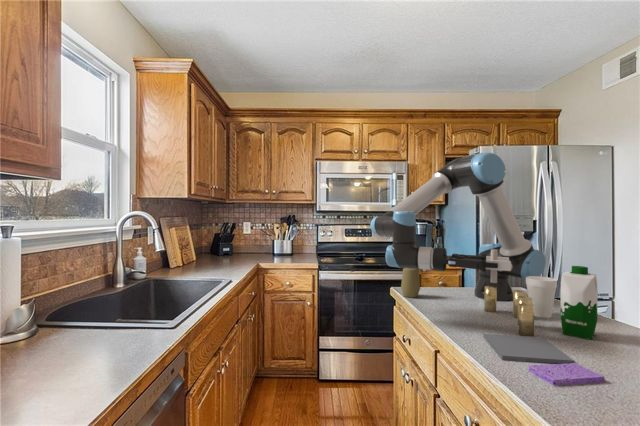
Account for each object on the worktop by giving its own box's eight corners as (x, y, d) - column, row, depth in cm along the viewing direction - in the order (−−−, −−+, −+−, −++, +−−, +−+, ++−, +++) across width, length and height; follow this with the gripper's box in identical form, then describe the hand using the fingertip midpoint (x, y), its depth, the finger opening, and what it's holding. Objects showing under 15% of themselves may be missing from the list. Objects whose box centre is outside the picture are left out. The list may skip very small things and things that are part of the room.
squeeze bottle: (401, 298, 148) (401, 255, 148) (400, 293, 156) (400, 253, 156) (421, 299, 147) (421, 256, 147) (419, 294, 155) (419, 254, 155)
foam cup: (557, 320, 118) (557, 282, 118) (525, 316, 123) (525, 279, 123) (555, 313, 126) (556, 277, 126) (526, 309, 131) (526, 275, 131)
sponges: (528, 373, 80) (528, 364, 80) (576, 369, 82) (576, 361, 82) (552, 388, 73) (552, 379, 73) (605, 384, 75) (605, 375, 75)
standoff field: (516, 311, 129) (516, 286, 129) (556, 339, 100) (556, 308, 100) (483, 309, 131) (483, 285, 131) (512, 336, 102) (512, 305, 102)
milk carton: (598, 334, 105) (598, 267, 105) (595, 342, 98) (595, 271, 98) (563, 327, 111) (563, 264, 111) (558, 334, 104) (558, 267, 104)
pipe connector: (504, 279, 112) (504, 248, 112) (518, 286, 102) (518, 252, 102) (471, 278, 113) (472, 247, 113) (482, 285, 103) (482, 251, 103)
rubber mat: (543, 340, 99) (543, 337, 99) (574, 364, 83) (574, 360, 83) (483, 337, 102) (483, 333, 102) (502, 359, 86) (502, 355, 86)
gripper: (437, 265, 125) (508, 271, 116) (427, 275, 105) (511, 282, 95) (438, 245, 126) (508, 248, 116) (428, 250, 105) (512, 255, 95)
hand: (509, 263), depth 106 cm, fingers closed on pipe connector, 10 cm apart
